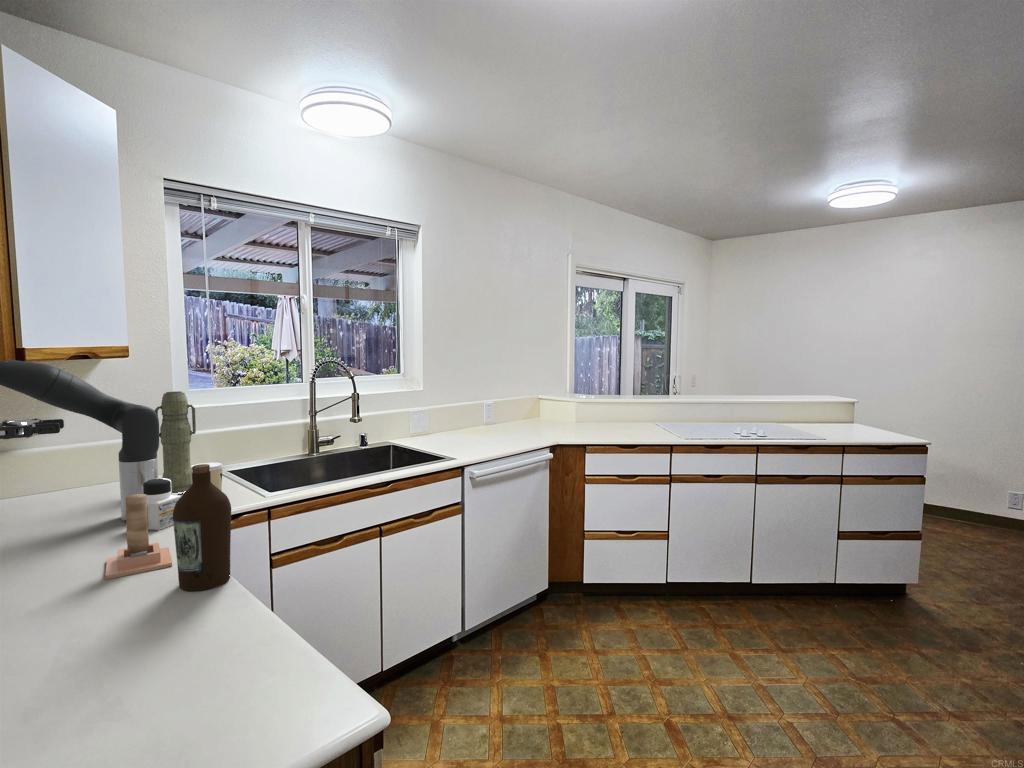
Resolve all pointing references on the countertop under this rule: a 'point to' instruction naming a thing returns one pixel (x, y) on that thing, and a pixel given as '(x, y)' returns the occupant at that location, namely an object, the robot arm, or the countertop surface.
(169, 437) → the thermos
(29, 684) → the countertop surface
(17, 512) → the countertop surface
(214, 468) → the coffee cup
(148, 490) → the container
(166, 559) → the clip base
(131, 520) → the tall wooden cylinder
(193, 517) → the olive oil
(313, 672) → the countertop surface
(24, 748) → the countertop surface
